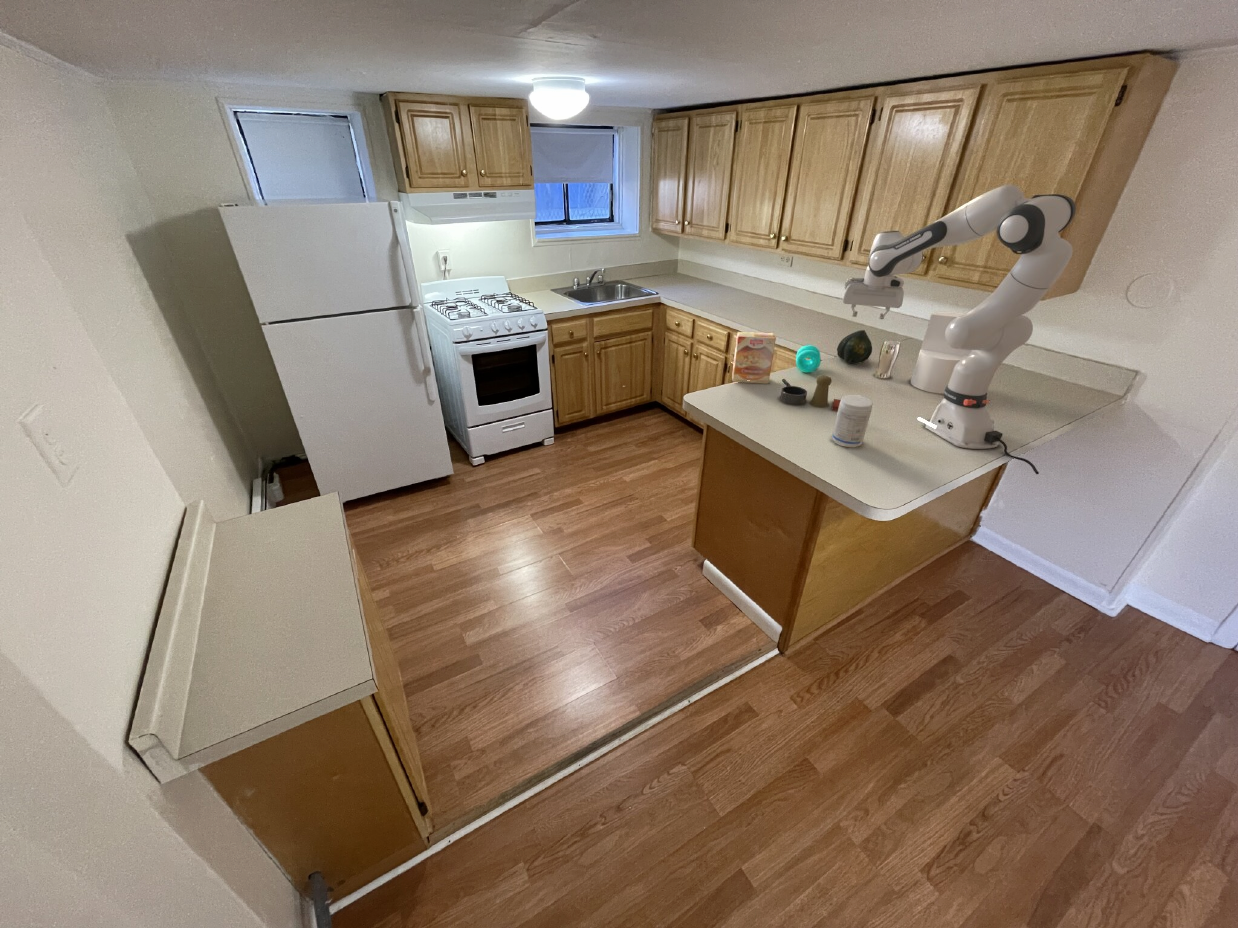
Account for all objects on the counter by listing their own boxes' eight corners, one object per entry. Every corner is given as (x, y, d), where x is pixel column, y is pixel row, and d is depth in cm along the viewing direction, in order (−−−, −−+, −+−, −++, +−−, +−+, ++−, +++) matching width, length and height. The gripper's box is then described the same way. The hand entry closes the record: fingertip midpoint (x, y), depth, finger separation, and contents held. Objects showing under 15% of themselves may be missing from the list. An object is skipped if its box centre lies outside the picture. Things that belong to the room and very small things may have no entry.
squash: (831, 352, 229) (861, 329, 221) (830, 344, 241) (859, 322, 233) (852, 375, 230) (882, 353, 222) (850, 365, 243) (878, 344, 235)
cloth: (833, 402, 195) (834, 398, 194) (852, 405, 193) (853, 401, 192) (832, 410, 189) (833, 406, 188) (852, 413, 186) (853, 409, 186)
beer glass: (893, 380, 215) (903, 345, 207) (875, 378, 216) (885, 344, 208) (889, 374, 221) (899, 340, 213) (872, 373, 222) (881, 339, 214)
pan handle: (791, 389, 199) (791, 385, 199) (787, 389, 199) (788, 385, 199) (784, 381, 206) (785, 378, 205) (781, 381, 206) (781, 378, 205)
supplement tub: (838, 432, 173) (848, 392, 166) (866, 441, 168) (878, 399, 160) (826, 441, 167) (836, 400, 160) (855, 451, 162) (866, 409, 154)
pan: (808, 405, 193) (810, 395, 191) (784, 405, 192) (786, 395, 190) (800, 395, 201) (802, 385, 199) (776, 395, 200) (778, 386, 198)
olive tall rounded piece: (816, 407, 191) (822, 380, 185) (807, 401, 196) (813, 374, 190) (830, 406, 192) (837, 378, 186) (821, 399, 197) (827, 372, 191)
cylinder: (912, 375, 220) (932, 309, 205) (958, 382, 212) (982, 315, 198) (908, 388, 207) (930, 319, 192) (957, 397, 199) (983, 325, 185)
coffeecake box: (732, 382, 213) (738, 336, 203) (731, 376, 219) (736, 331, 209) (769, 384, 211) (776, 337, 201) (767, 377, 217) (774, 332, 207)
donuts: (794, 372, 223) (798, 350, 218) (794, 364, 231) (798, 343, 226) (818, 374, 220) (822, 352, 215) (817, 367, 228) (822, 345, 223)
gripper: (846, 278, 185) (838, 317, 192) (908, 283, 179) (897, 322, 186) (846, 275, 190) (838, 313, 197) (907, 279, 184) (896, 318, 191)
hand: (867, 317), depth 191 cm, fingers open, 8 cm apart
